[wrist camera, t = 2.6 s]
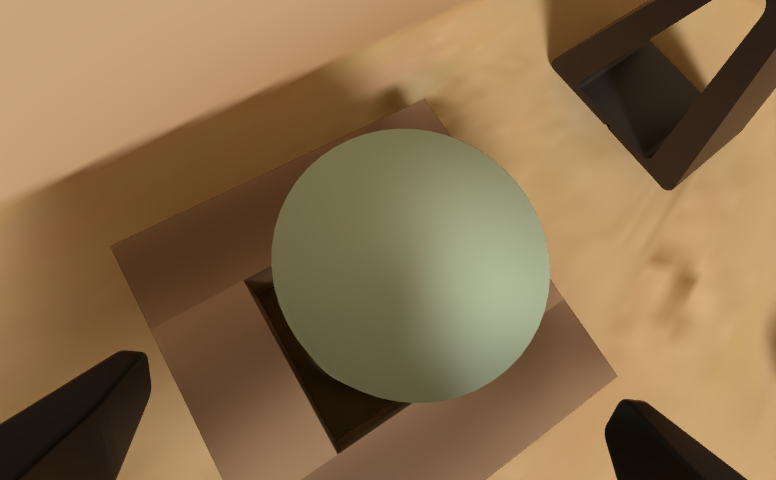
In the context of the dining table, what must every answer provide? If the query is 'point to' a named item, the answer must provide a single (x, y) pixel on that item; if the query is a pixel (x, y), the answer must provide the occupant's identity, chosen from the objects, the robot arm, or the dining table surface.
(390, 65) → the dining table surface
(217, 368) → the pocket block
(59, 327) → the dining table surface
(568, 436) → the dining table surface
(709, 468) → the robot arm
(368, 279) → the peg
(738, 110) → the phone stand
